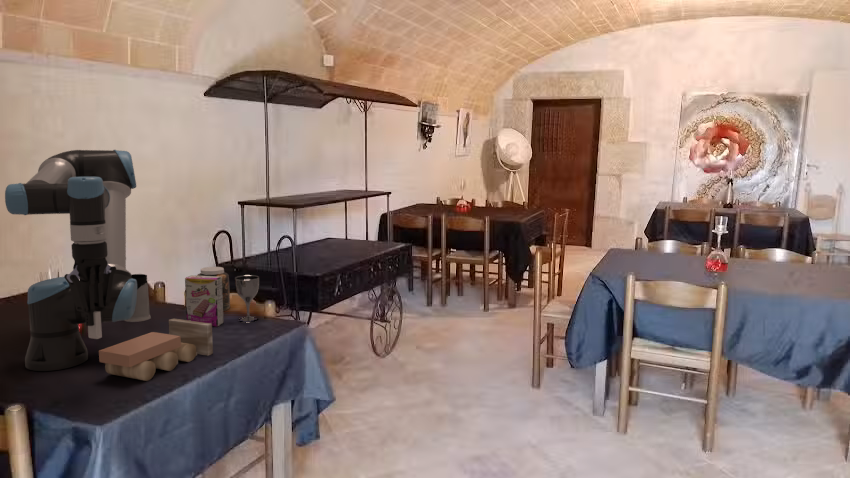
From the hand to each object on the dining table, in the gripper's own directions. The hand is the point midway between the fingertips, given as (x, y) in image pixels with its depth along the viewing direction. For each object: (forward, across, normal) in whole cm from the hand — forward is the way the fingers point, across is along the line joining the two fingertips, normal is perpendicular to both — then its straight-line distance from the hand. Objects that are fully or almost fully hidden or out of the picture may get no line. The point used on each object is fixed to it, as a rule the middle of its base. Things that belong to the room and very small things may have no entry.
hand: (95, 337), depth 155 cm
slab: (+9, +14, 0) cm, 17 cm away
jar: (+13, +76, +27) cm, 81 cm away
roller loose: (+13, +27, 0) cm, 30 cm away
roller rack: (+13, +21, 0) cm, 25 cm away
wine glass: (+13, +68, +6) cm, 70 cm away
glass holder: (+13, +53, +45) cm, 71 cm away
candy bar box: (+13, +57, +16) cm, 61 cm away
